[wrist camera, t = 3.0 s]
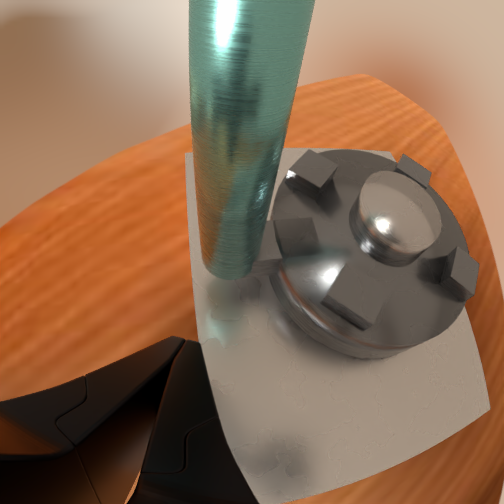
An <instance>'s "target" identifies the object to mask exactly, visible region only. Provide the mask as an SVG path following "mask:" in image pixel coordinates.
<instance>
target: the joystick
mask: <svg viewBox="0 0 504 504" xmlns="http://www.w3.org/2000/svg"><path fill="white" fill-rule="evenodd" d="M314 3H315V0H189V77H190V78H189V80H190V107H191V108H190V109H191V130H192V148H193V164H194V178H195V191H196V203H197V215H198V226H199V236H200V246H201V256H202V261H203V264H204V266H205V268H206V269H207V270H208V271H209V272H210V273H211V274H212V275H214V276H216V277H218V278H221V279H225V280H236V279H241V278H250V277H258V276H267V275H268V276H269V280H270V283H271V285H272V288H273V290H274V292H275V294H276V297H277V298H278V300H279V302H280V303H281V305H282V307H283V308H284V310H285V311H286V312H287V313H288V315H289V316H290V317H291V318H292V320H293V321H294V322H295V323H296V324H297V325H298V326H299V327H300V328H301V329H302V330H303V331H304V332H305V333H307V334H308V335H309V336H311V337H312V338H313V339H315V340H316V341H317V342H319V343H321V344H323V345H325V346H326V347H328V348H330V349H332V350H335V351H337V352H340V353H342V354H345V355H349V356H354V357H358V358H370V359H372V358H385V357H389V356H393V355H396V354H399V353H401V352H404V351H406V350H408V349H410V348H413V347H415V346H417V345H419V344H421V343H423V342H426V341H428V340H430V339H432V338H434V337H436V336H438V335H439V334H441V333H442V332H444V331H445V330H446V329H448V328H449V327H450V326H451V325H452V324H453V323H454V322H455V320H456V319H457V318H458V316H459V315H460V313H461V312H462V310H463V308H464V305H465V303H466V301H467V300H468V299H469V298H471V297H472V296H474V294H475V288H476V283H477V277H478V270H479V263H478V262H476V261H475V260H474V259H473V258H472V257H470V256H469V251H468V247H467V243H466V240H465V237H464V235H463V232H462V230H461V228H460V226H459V223H458V222H457V220H456V218H455V216H454V215H453V213H452V211H451V210H450V209H449V207H448V206H447V204H446V203H445V202H444V201H443V199H442V198H441V197H440V196H439V195H438V193H437V192H436V191H435V190H434V189H433V188H432V187H431V186H430V185H428V183H429V180H430V176H431V172H430V171H428V170H427V169H426V168H424V167H423V166H421V165H420V164H418V163H417V162H415V161H414V160H412V159H411V158H409V157H408V156H406V155H404V154H403V155H402V156H401V158H400V160H399V162H398V163H396V162H394V161H392V160H390V159H388V158H385V157H383V156H380V155H377V154H373V153H370V152H365V151H360V150H350V149H337V150H329V151H324V152H320V153H316V152H314V151H312V150H310V149H308V150H307V151H306V152H305V153H304V154H303V155H302V156H301V157H300V158H299V159H298V160H297V161H296V162H295V163H294V164H293V165H292V166H291V167H290V168H289V169H288V173H287V174H286V176H285V177H284V178H283V180H282V182H281V184H280V185H279V187H278V190H277V193H276V196H275V200H274V204H273V208H272V212H271V216H270V220H268V221H267V217H268V213H269V208H270V204H271V199H272V195H273V191H274V186H275V182H276V177H277V173H278V168H279V164H280V160H281V155H282V151H283V146H284V142H285V137H286V133H287V128H288V124H289V119H290V115H291V110H292V105H293V101H294V96H295V92H296V87H297V83H298V78H299V74H300V69H301V64H302V60H303V55H304V50H305V46H306V41H307V36H308V32H309V27H310V22H311V17H312V13H313V8H314Z"/></svg>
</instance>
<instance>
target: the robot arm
mask: <svg viewBox="0 0 504 504" xmlns="http://www.w3.org/2000/svg"><path fill="white" fill-rule="evenodd" d="M141 467H142V468H141ZM140 469H141V472H140V476H139V479H138V483H137V486H136V488H135V491H134V493H133V495H132V496H131V498H130V499H129V501H128V502H127V504H260V503H259V502H258V500H257V499H256V497H255V495H254V493H253V492H252V490H251V488H250V486H249V485H248V483H247V481H246V479H245V477H244V475H243V474H242V472H241V470H240V468H239V466H238V464H237V462H236V460H235V458H234V456H233V454H232V452H231V450H230V447H229V445H228V443H227V440H226V437H225V434H224V431H223V428H222V424H221V421H220V419H219V414H218V411H217V407H216V403H215V399H214V396H213V392H212V388H211V384H210V380H209V376H208V372H207V368H206V364H205V359H204V355H203V351H202V346H201V343H200V342H196V341H192V340H185V339H184V338H180V337H176V336H170V337H168V338H166V339H164V340H162V341H160V342H157V343H155V344H153V345H151V346H149V347H147V348H144V349H142V350H140V351H138V352H136V353H133V354H131V355H129V356H127V357H125V358H122V359H120V360H118V361H116V362H113V363H111V364H109V365H107V366H104V367H102V368H100V369H98V370H95V371H93V372H91V373H88V374H86V375H85V376H81V377H79V378H76V379H74V380H71V381H69V382H66V383H64V384H61V385H58V386H55V387H52V388H49V389H46V390H43V391H39V392H36V393H32V394H28V395H25V396H21V397H17V398H13V399H9V400H5V401H1V402H0V504H124V502H125V500H126V498H127V496H128V494H129V492H130V490H131V488H132V486H133V484H134V482H135V480H136V478H137V475H138V473H139V471H140Z"/></svg>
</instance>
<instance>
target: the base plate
mask: <svg viewBox="0 0 504 504" xmlns="http://www.w3.org/2000/svg"><path fill="white" fill-rule="evenodd" d="M308 149H310V150H312V151H314V152H316V153H320V152H324V151H329V150H337V149H332V148H283V151H282V155H281V160H280V164H279V168H278V173H277V177H276V182H275V186H274V191H273V195H272V199H271V204H270V208H269V213H268V217H267V221H268V220H270V216H271V212H272V208H273V204H274V200H275V196H276V193H277V190H278V187H279V185H280V184H281V182H282V180H283V178H284V177H285V176H286V174H287V173H288V169H289V168H290V167H291V166H292V165H293V164H294V163H295V162H296V161H297V160H298V159H299V158H300V157H301V156H302V155H303V154H304V153H305V152H306V151H307V150H308ZM350 150H356V149H350ZM360 151H365V152H370V153H373V154H377V155H380V156H383V157H385V158H388V159H390V160H392V161H394V162H396V161H395V159H394V158H393V156H392V154H391V153H390V152H387V151H373V150H360ZM185 163H186V191H187V212H188V229H189V244H190V258H191V270H192V282H193V292H194V303H195V313H196V322H197V331H198V339H199V342H200V343H201V346H202V351H203V355H204V359H205V364H206V368H207V372H208V376H209V380H210V384H211V388H212V392H213V396H214V399H215V403H216V407H217V411H218V414H219V419H220V421H221V424H222V428H223V431H224V434H225V437H226V440H227V443H228V445H229V447H230V450H231V452H232V454H233V456H234V458H235V460H236V462H237V464H238V466H239V468H240V470H241V472H242V474H243V475H244V477H245V479H246V481H247V483H248V485H249V486H250V488H251V490H252V492H253V493H254V495H255V497H256V499H257V500H258V502H259V503H260V504H281V503H285V502H290V501H294V500H298V499H302V498H306V497H310V496H313V495H317V494H320V493H324V492H327V491H330V490H333V489H336V488H340V487H343V486H345V485H348V484H351V483H354V482H357V481H359V480H362V479H365V478H367V477H370V476H372V475H375V474H377V473H379V472H382V471H384V470H386V469H389V468H391V467H393V466H395V465H397V464H400V463H402V462H404V461H406V460H408V459H410V458H412V457H414V456H416V455H418V454H420V453H422V452H424V451H425V450H427V449H429V448H431V447H433V446H435V445H436V444H438V443H440V442H442V441H443V440H445V439H447V438H448V437H450V436H452V435H453V434H455V433H456V432H458V431H460V430H461V429H463V428H464V427H466V426H467V425H469V424H470V423H472V422H473V421H475V420H476V419H477V418H479V417H480V416H482V415H483V414H484V413H486V412H487V411H489V410H490V409H491V408H490V402H489V397H488V391H487V386H486V381H485V377H484V372H483V368H482V364H481V360H480V356H479V352H478V348H477V345H476V341H475V337H474V334H473V331H472V327H471V324H470V321H469V318H468V315H467V312H466V309H465V306H464V308H463V310H462V312H461V313H460V315H459V316H458V318H457V319H456V320H455V322H454V323H453V324H452V325H451V326H450V327H449V328H448V329H446V330H445V331H444V332H442V333H441V334H439V335H438V336H436V337H434V338H432V339H430V340H428V341H426V342H423V343H421V344H419V345H417V346H415V347H413V348H410V349H408V350H406V351H404V352H401V353H399V354H396V355H393V356H389V357H385V358H372V359H370V358H358V357H354V356H349V355H345V354H342V353H340V352H337V351H335V350H332V349H330V348H328V347H326V346H325V345H323V344H321V343H319V342H317V341H316V340H315V339H313V338H312V337H311V336H309V335H308V334H307V333H305V332H304V331H303V330H302V329H301V328H300V327H299V326H298V325H297V324H296V323H295V322H294V321H293V320H292V318H291V317H290V316H289V315H288V313H287V312H286V311H285V310H284V308H283V307H282V305H281V303H280V302H279V300H278V298H277V297H276V294H275V292H274V290H273V288H272V285H271V283H270V280H269V276H268V275H267V276H258V277H250V278H241V279H236V280H225V279H221V278H218V277H216V276H214V275H212V274H211V273H210V272H209V271H208V270H207V269H206V268H205V266H204V264H203V261H202V256H201V246H200V236H199V226H198V215H197V203H196V191H195V178H194V164H193V152H192V153H185ZM396 163H397V162H396Z"/></svg>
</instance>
